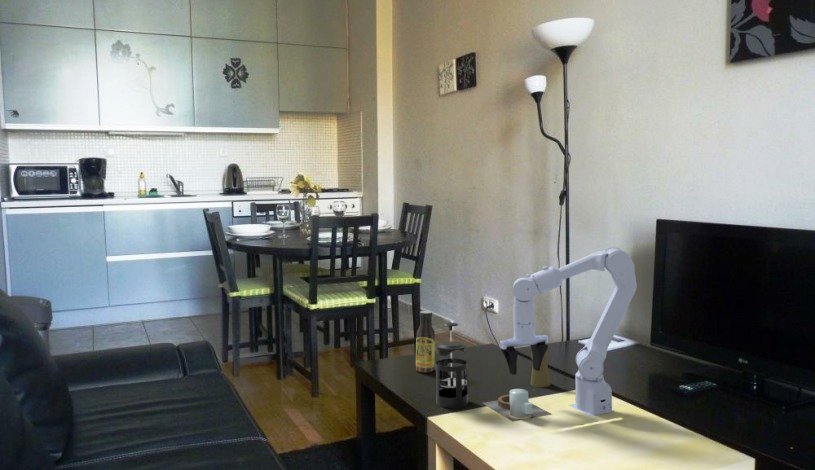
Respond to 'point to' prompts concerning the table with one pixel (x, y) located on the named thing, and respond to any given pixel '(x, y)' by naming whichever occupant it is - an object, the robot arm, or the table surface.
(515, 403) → the white ceramic mug
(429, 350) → the sauce bottle
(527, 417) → the board
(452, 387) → the french press
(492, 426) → the table surface
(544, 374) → the pepper shaker
